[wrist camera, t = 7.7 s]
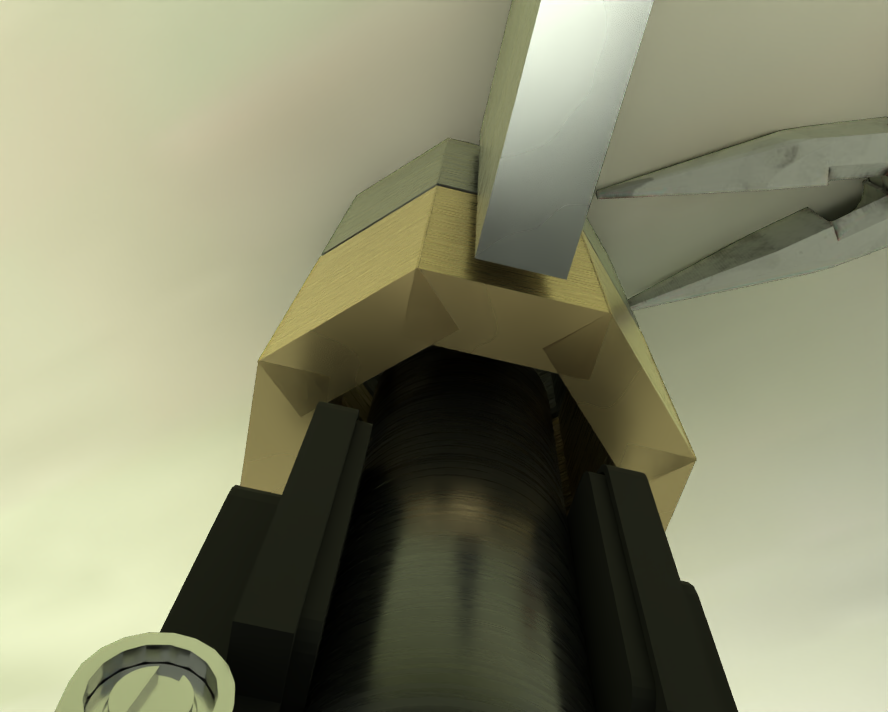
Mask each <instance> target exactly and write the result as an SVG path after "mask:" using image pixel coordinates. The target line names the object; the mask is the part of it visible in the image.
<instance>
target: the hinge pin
mask: <svg viewBox="0 0 888 712" xmlns="http://www.w3.org/2000/svg"><path fill="white" fill-rule="evenodd" d="M366 422H367V423H371V424H373V427H372V432H371V436H370V441H369V445H368V450H367V454H366V459H365V463H364V468H363V472H362V477H361V481H360V485H359V489H358V493H357V497H356V501H355V505H354V509H353V513H352V517H351V521H350V525H349V529H348V533H347V537H346V541H345V545H344V550H343V554H342V558H341V562H340V566H339V570H338V574H337V578H336V582H335V586H334V590H333V594H332V598H331V602H330V606H329V610H328V614H327V619H326V623H325V627H324V631H323V635H322V639H321V643H320V647H319V651H318V655H317V659H316V663H315V667H314V671H313V675H312V679H311V683H310V688H309V692H308V696H307V700H306V704H305V708H304V712H596V711H595V704H594V697H593V691H592V684H591V677H590V671H589V664H588V657H587V651H586V644H585V637H584V631H583V624H582V617H581V611H580V604H579V597H578V591H577V584H576V577H575V571H574V564H573V557H572V551H571V544H570V537H569V531H568V524H567V516H566V510H565V503H564V496H563V490H562V483H561V476H560V470H559V463H558V457H557V450H556V443H555V437H554V430H553V423H552V417H551V410H550V404H549V399H548V395H547V392H546V389H545V386H544V384H543V382H542V380H541V379H540V377H539V375H538V374H537V372H536V371H535V370H534V368H532V367H527V366H523V365H519V364H514V363H510V362H505V361H501V360H497V359H492V358H488V357H484V356H479V355H475V354H471V353H466V352H462V351H457V350H453V349H449V348H444V347H440V346H436V345H430V346H428V347H426V348H425V349H423V350H421V351H419V352H417V353H416V354H414V355H412V356H410V357H408V358H407V359H405V360H403V361H401V362H399V363H398V364H396V365H394V366H392V367H390V368H389V369H387V370H385V371H384V373H383V374H382V376H381V377H380V379H379V382H378V384H377V386H376V389H375V392H374V395H373V399H372V403H371V406H370V410H369V414H368V418H367V421H366Z"/></svg>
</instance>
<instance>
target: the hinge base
mask: <svg viewBox="0 0 888 712" xmlns="http://www.w3.org/2000/svg"><path fill="white" fill-rule="evenodd" d="M653 2H654V0H512V4H511V8H510V12H509V16H508V20H507V24H506V28H505V32H504V37H503V41H502V45H501V49H500V53H499V57H498V61H497V65H496V69H495V74H494V78H493V82H492V86H491V90H490V94H489V98H488V102H487V106H486V111H485V115H484V119H483V123H482V127H481V131H480V146H479V145H475V144H471V143H467V142H463V141H459V140H455V139H450V138H447V139H446V140H444V141H443V142H441V143H440V144H438V145H436V146H435V147H433V148H432V149H430V150H428V151H427V152H425V153H424V154H422V155H421V156H419V157H417V158H416V159H414V160H413V161H411V162H409V163H408V164H406V165H405V166H403V167H401V168H400V169H398V170H397V171H395V172H394V173H392V174H390V175H389V176H387V177H386V178H384V179H382V180H381V181H379V182H378V183H376V184H375V185H373V186H371V187H370V188H368V189H367V190H365V191H363V192H362V193H360V194H359V195H357V196H356V197H355V199H354V201H353V202H352V204H351V206H350V207H349V209H348V211H347V212H346V214H345V216H344V217H343V219H342V221H341V223H340V224H339V226H338V228H337V229H336V231H335V233H334V234H333V236H332V238H331V239H330V241H329V243H328V244H327V246H326V248H325V249H324V251H323V253H322V256H323V255H325V254H326V253H328V252H330V251H331V250H333V249H334V248H336V247H338V246H339V245H341V244H343V243H344V242H346V241H347V240H349V239H351V238H352V237H354V236H356V235H357V234H359V233H360V232H362V231H364V230H365V229H367V228H369V227H370V226H372V225H373V224H375V223H377V222H378V221H380V220H382V219H383V218H385V217H386V216H388V215H390V214H391V213H393V212H395V211H396V210H398V209H400V208H401V207H403V206H404V205H406V204H408V203H409V202H411V201H413V200H414V199H416V198H417V197H419V196H421V195H422V194H424V193H426V192H427V191H429V190H430V189H432V188H434V187H435V186H436V185H438V186H441V187H445V188H449V189H453V190H457V191H462V192H466V193H470V194H474V195H478V196H477V218H476V241H475V258H476V259H480V260H484V261H489V262H493V263H497V264H501V265H506V266H510V267H514V268H518V269H523V270H527V271H531V272H535V273H540V274H544V275H548V276H552V277H557V278H561V279H565V280H567V277H568V274H569V271H570V267H571V264H572V261H573V258H574V255H575V251H576V248H577V245H578V242H579V239H580V235H581V232H582V230H583V232H584V233H585V235H586V237H587V239H588V240H589V242H590V244H591V246H592V247H593V249H594V251H595V253H596V254H597V256H598V258H599V260H600V261H601V263H602V265H603V267H604V268H605V270H606V272H607V274H608V275H609V277H610V279H611V281H612V282H613V284H614V286H615V288H616V289H617V291H618V293H619V295H620V296H621V298H622V300H623V302H624V303H625V305H626V307H627V309H628V311H629V312H630V314H631V316H632V318H633V319H634V321H635V323H636V325H637V326H638V328H639V325H638V323H637V321H636V318H635V316H634V314H633V312H632V309H631V307H630V305H629V302H628V300H627V298H626V295H625V293H624V291H623V289H622V286H621V284H620V282H619V279H618V277H617V275H616V272H615V270H614V268H613V266H612V263H611V261H610V259H609V256H608V254H607V253H606V252H605V250H604V248H603V246H602V245H601V243H600V241H599V239H598V237H597V236H596V234H595V232H594V230H593V229H592V227H591V225H590V223H589V222H588V220H587V218H586V216H587V213H588V210H589V207H590V203H591V200H592V197H593V194H594V191H595V187H596V184H597V181H598V178H599V175H600V171H601V168H602V165H603V162H604V159H605V155H606V152H607V149H608V146H609V143H610V139H611V136H612V133H613V130H614V127H615V123H616V120H617V117H618V114H619V111H620V107H621V104H622V101H623V98H624V95H625V92H626V88H627V85H628V82H629V79H630V76H631V72H632V69H633V66H634V63H635V60H636V56H637V53H638V50H639V47H640V44H641V40H642V37H643V34H644V31H645V28H646V24H647V21H648V18H649V15H650V12H651V8H652V5H653ZM534 370H535V371H536V372H537V374H538V375H539V377H540V379H541V380H542V382H543V384H544V386H545V389H546V392H547V395H548V399H549V404H550V410H551V417H552V419H554V418H556V417H558V414H559V411H560V408H561V405H562V402H563V399H564V396H565V393H566V390H567V387H566V385H565V384H564V382H563V381H562V379H561V377H560V376H559V374H558V373H554V372H549V371H545V370H540V369H536V368H534ZM383 373H384V371H383V372H381V373H380V374H378V375H376V376H374V377H372V378H371V379H369V380H367V381H365V382H363V383H362V384H363V385H364V386H365V388H366V389H367V390H368V392H369V393H370V395H371V396H372V397H373V395H374V392H375V389H376V386H377V384H378V382H379V379H380V377H381V376H382V374H383Z"/></svg>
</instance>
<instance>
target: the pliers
mask: <svg viewBox="0 0 888 712" xmlns="http://www.w3.org/2000/svg"><path fill="white" fill-rule="evenodd" d="M865 177H869V179H870V182H869V181H867V180H865V181H863V186H864V189H863V195H862V198H861V201H860V202H859V204H858V205H857V207H856V208H855V209H854V210H853V211H852V212H851V213H849V214H847V215H845V216H843V217H841V218H839V219H836V220H834V221H827V220H825V219H824V218H822V217H821V216H819V215H818V214H817V213H815V212H814V211H812V210H811V209H809V208H808V207H807V208H804V209H802V210H800V211H798V212H796V213H794V214H792V215H790V216H788V217H785V218H783V219H781V220H779V221H777V222H775V223H773V224H771V225H769V226H766V227H764V228H762V229H760V230H758V231H756V232H754V233H752V234H750V235H748V236H746V237H745V238H743V239H741V240H739V241H737V242H735V243H733V244H731V245H730V246H728V247H726V248H724V249H722V250H720V251H718V252H716V253H715V254H713V255H711V256H709V257H707V258H705V259H703V260H701V261H700V262H698V263H696V264H694V265H692V266H690V267H688V268H686V269H685V270H683V271H681V272H679V273H677V274H675V275H673V276H671V277H670V278H668V279H666V280H664V281H662V282H660V283H658V284H656V285H654V286H653V287H651V288H649V289H647V290H645V291H643V292H641V293H639V294H638V295H636V296H634V297H632V298H630V299H628V302H629V305H630V307H631V309H632V310H637V309H642V308H647V307H651V306H656V305H661V304H666V303H671V302H675V301H680V300H685V299H690V298H695V297H699V296H704V295H709V294H714V293H719V292H723V291H728V290H733V289H738V288H743V287H747V286H752V285H757V284H762V283H766V282H771V281H776V280H781V279H786V278H790V277H795V276H800V275H805V274H810V273H814V272H817V271H821V270H824V269H828V268H831V267H834V266H837V265H840V264H842V263H845V262H848V261H851V260H853V259H856V258H859V257H862V256H864V255H867V254H869V253H872V252H875V251H877V250H880V249H882V248H885V247H888V117H883V118H874V119H865V120H855V121H846V122H838V123H830V124H822V125H815V126H807V127H800V128H794V129H788V130H782V131H778V132H775V133H772V134H769V135H766V136H763V137H760V138H757V139H754V140H751V141H748V142H745V143H742V144H738V145H735V146H732V147H729V148H726V149H723V150H720V151H717V152H714V153H711V154H708V155H705V156H702V157H699V158H696V159H692V160H689V161H686V162H683V163H680V164H677V165H674V166H671V167H668V168H665V169H662V170H659V171H656V172H653V173H650V174H646V175H643V176H640V177H637V178H634V179H631V180H628V181H625V182H622V183H619V184H616V185H613V186H610V187H607V188H604V189H600V190H597V191H596V196H597V199H610V198H629V197H648V196H667V195H686V194H705V193H724V192H743V191H761V190H776V189H788V188H800V187H812V186H825V185H828V181H831V180H842V179H854V178H865Z"/></svg>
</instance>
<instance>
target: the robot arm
mask: <svg viewBox="0 0 888 712" xmlns="http://www.w3.org/2000/svg"><path fill="white" fill-rule="evenodd" d="M359 411H360V410H359V409H354V408H350V407H345V406H341V405H336V404H332V403H327V402H323V401H319V402H318V404H317V406H316V409H315V412H314V414H313V417H312V419H311V422H310V424H309V427H308V429H307V432H306V434H305V437H304V440H303V442H302V445H301V447H300V450H299V452H298V455H297V457H296V460H295V463H294V465H293V468H292V470H291V473H290V475H289V478H288V480H287V483H286V486H285V488H284V491H283V493H282V495H280V494H276V493H271V492H266V491H262V490H257V489H252V488H248V487H243V486H238V485H235V486H233V487H232V489H231V490H230V492H229V494H228V496H227V498H226V500H225V502H224V504H223V506H222V508H221V510H220V512H219V514H218V516H217V518H216V520H215V522H214V524H213V526H212V528H211V530H210V532H209V534H208V536H207V538H206V540H205V542H204V544H203V546H202V548H201V550H200V552H199V554H198V556H197V558H196V560H195V562H194V564H193V566H192V568H191V570H190V572H189V574H188V576H187V578H186V580H185V582H184V584H183V586H182V588H181V590H180V593H179V595H178V597H177V599H176V601H175V603H174V605H173V607H172V609H171V611H170V613H169V615H168V617H167V619H166V621H165V623H164V625H163V627H162V629H161V631H160V633H157V632H148V633H144V634H139V635H134V636H129V637H124V638H122V639H120V640H118V641H115V642H113V643H111V644H109V645H107V646H104V647H102V648H101V649H99V650H98V651H97V652H96V653H94V654H93V655H92V656H91V657H89V658H88V659H87V660H85V661H84V662H83V663H82V664H81V665H80V667H79V668H78V670H77V671H76V673H75V674H74V675H73V677H72V678H71V680H70V681H69V683H68V685H67V687H66V689H65V691H64V693H63V695H62V697H61V699H60V701H59V704H58V706H57V708H56V710H55V712H304V708H305V704H306V700H307V696H308V692H309V688H310V683H311V679H312V675H313V671H314V667H315V663H316V659H317V655H318V651H319V647H320V643H321V639H322V635H323V631H324V627H325V623H326V619H327V614H328V610H329V606H330V602H331V598H332V594H333V590H334V586H335V582H336V578H337V574H338V570H339V566H340V562H341V558H342V554H343V550H344V545H345V541H346V537H347V533H348V529H349V525H350V521H351V517H352V513H353V509H354V505H355V501H356V497H357V493H358V489H359V485H360V481H361V477H362V472H363V468H364V463H365V459H366V454H367V450H368V445H369V441H370V436H371V432H372V427H373V424H371V423H367V422H362V421H358V417H359ZM567 524H568V531H569V537H570V544H571V551H572V557H573V564H574V571H575V577H576V584H577V591H578V597H579V604H580V611H581V617H582V624H583V631H584V637H585V644H586V651H587V657H588V664H589V671H590V677H591V684H592V691H593V697H594V704H595V711H596V712H738V710H737V707H736V704H735V701H734V698H733V696H732V693H731V690H730V687H729V684H728V681H727V678H726V675H725V672H724V669H723V666H722V663H721V661H720V658H719V655H718V652H717V649H716V646H715V643H714V640H713V637H712V634H711V631H710V628H709V626H708V623H707V620H706V617H705V614H704V611H703V608H702V605H701V602H700V599H699V596H698V594H697V592H696V590H695V588H694V586H692V585H691V584H690V583H688V582H684V581H680V578H679V575H678V572H677V569H676V565H675V562H674V559H673V556H672V553H671V550H670V547H669V544H668V541H667V537H666V534H665V531H664V528H663V525H662V522H661V519H660V516H659V513H658V509H657V506H656V503H655V500H654V497H653V494H652V491H651V488H650V485H649V482H648V478H647V476H646V475H645V473H642V472H638V471H633V470H629V469H624V468H620V467H615V466H611V465H606V464H603V465H601V466H600V467H599V469H598V470H597V472H596V473H593V472H588V471H586V472H584V474H583V475H582V477H581V479H580V482H579V485H578V487H577V490H576V493H575V496H574V498H573V501H572V504H571V507H570V510H569V512H568V515H567Z"/></svg>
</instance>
